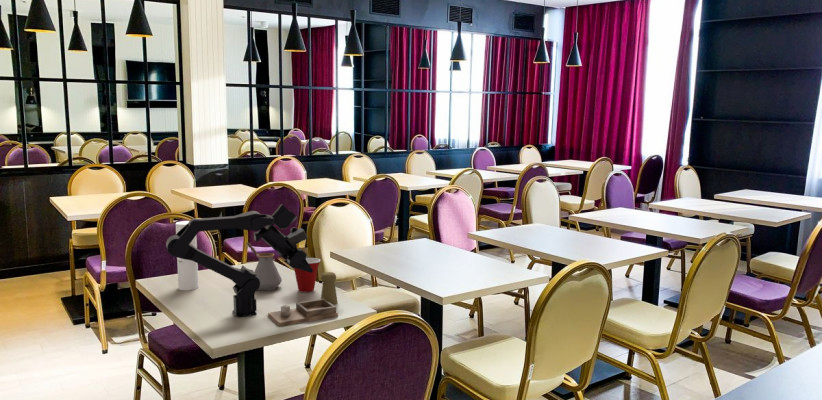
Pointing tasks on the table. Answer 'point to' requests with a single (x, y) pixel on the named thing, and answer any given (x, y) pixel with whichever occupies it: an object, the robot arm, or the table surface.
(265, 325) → the table surface
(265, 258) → the coffee pot
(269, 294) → the table surface
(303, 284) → the plastic cup
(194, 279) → the cylindrical container
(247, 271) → the robot arm
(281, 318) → the cruet holder
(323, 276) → the cork
